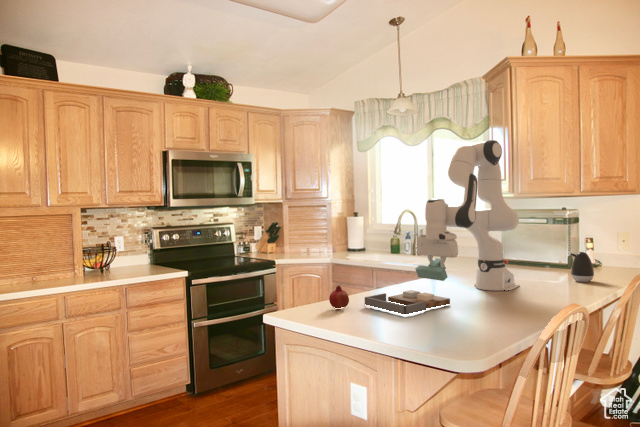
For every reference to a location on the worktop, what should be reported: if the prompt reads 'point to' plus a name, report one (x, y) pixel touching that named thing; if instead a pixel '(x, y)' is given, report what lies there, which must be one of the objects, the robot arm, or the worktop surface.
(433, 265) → the scraper
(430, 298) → the tile cream
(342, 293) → the fruit
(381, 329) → the worktop surface
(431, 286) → the worktop surface
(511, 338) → the worktop surface
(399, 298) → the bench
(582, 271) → the pump dispenser
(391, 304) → the tray
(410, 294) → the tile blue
